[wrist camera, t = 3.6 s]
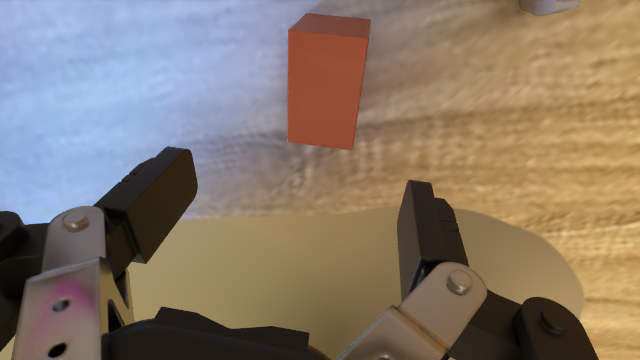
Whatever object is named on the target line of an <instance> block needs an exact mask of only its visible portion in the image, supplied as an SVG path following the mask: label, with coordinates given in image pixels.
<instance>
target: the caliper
mask: <svg viewBox="0 0 640 360" xmlns="http://www.w3.org/2000/svg"><path fill="white" fill-rule="evenodd" d="M578 6H579V0H520V7H521V9H523V10H524V11H527V12H529V13H532V14H534V15H537V16H542V15H548V14H554V13H559V12H563V11H566V10H569V9H572V8H576V7H578Z"/></svg>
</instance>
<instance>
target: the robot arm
mask: <svg viewBox="0 0 640 360" xmlns="http://www.w3.org/2000/svg"><path fill="white" fill-rule="evenodd" d="M197 188H198V184H197V178H196V173H195V167H194V162H193V157H192V153H191V151H190V150H189V149H183V148H176V147H166V148H165V149H164V150H163V151H161V152H160V153H159V154H158V155H157V156H156V157H155V158H151V159H149V160H147V161H145V162H143V163H141V164H139V165H138V166H136V167H135V168H134V169H133V170H132V171H131V172H130V173H129V175H127V176H125V177H124V178H123V179H122V181H121V182H119V183H118V184H117V185H115V186H114V187H113V188H112V189H111V190H110V191H109V192H108V193H107V194H106V195H104V196H103V197H102V198H101V199H100V200H99V201H98V202H97V203H96V204H94V205H93V206H81V207H76V208H72V209H69V210H67V211H65V212H63V213H61V214H59V215H58V216H56V217H55V218H54V219H53V220H52V221H51V222H50V223H41V224H29V225H24V223H23V221H22V220H21V218H20V217H19V215H18V214H16V213H14V212H10V211H0V352H1V350H2V349H3V348H4V347H5V346H6V345H7V343H9V341H10V340H11V339H12V338H13V337H14V336H15V334H16V336H15V341H14V347H13V352H12V358H11V360H331V359H330V358H328V357H327V356H326V355H325V354H324V353H322V352H321V351H319V350H318V349H316V348H314V347H312V346H310V345H308V343H309V333H307V332H302V331H296V330H291V329H285V328H279V327H273V326H268V327H256V328H240V329H230V328H227V327H225V326H223V325H220V324H219V323H216V322H214V321H212V320H210V319H208V318H206V317H204V316H202V315H200V314H198V313H195V312H189V311H183V310H178V309H173V308H167V307H161V308H160V310H159V311H158V313H157V315H156V316H155V318H152V319H146V320H141V321H138V322H135V321H134V315H133V306H132V297H131V288H130V278H129V272H128V269H127V267H128V266H129V264H130V263H131V262H138V263H144V264H147V262H148V261H149V260H150V258H151V257H152V255H153V254H154V252H155V251H156V250H157V249H158V247H159V246H160V244H161V243H162V242H163V240H164V239H165V237H166V236H167V235H168V234H169V232H170V231H171V230H172V228H173V227H174V226H175V224H176V223H177V221H178V220H179V219H180V217H181V216H182V215H183V213H184V212H185V211H186V209H187V208H188V206H189V205H190V204H191V202H192V201H193V200H194V198H195V196H196V193H197ZM397 223H398V224H397V235H398V250H399V266H400V281H401V299H402V303H401V304H400V305H399V306H397V307H395V306H394V305H392V306H390V307H388V308H387V309H386V310H385V311H384V312H383V313H382V314H381V315H380V316H379V317H378V318H377V319H376V320H375V321H374V322H373V323H372V324H371V325H370V326H369V327H368V328H367V329H366V330H365V331H364V332H363V333H362V334H361V335H360V336H359V337H358V338H357V339H356V340H355V341H354V342H353V343H352V345H350V346H349V347H348V348H347V350H346V351H345V352H344V353H343V354H342V355H341V356H340V357H339V358H338V359H337V360H448V359H449V358H450V357H451V358H454V359H456V360H599V359H598V357H597V355H596V353H595V350H594V348H593V346H592V344H591V342H590V340H589V338H588V336H587V334H586V331H585V329H584V327H583V326H582V324H581V323H580V321H579V320H578V319H577V318H576V317H575V315H574V314H572V313H571V312H570V311H569V310H567V309H566V308H565V307H564V306H562V305H560V304H559V303H557V302H555V301H552V300H550V299H546V298H542V297H532V298H529V299H527V300H525V301H524V303H523V304H522V305H521V304H518V303H516V302H514V301H511V300H509V299H506V298H504V297H501V296H499V295H497V294H495V293H493V292H491V291H489V290H488V289H487V288H486V285H485V283H484V281H483V280H482V278H481V277H480V276H479V275H478V274H477V273H476V272H475V271H474V270H472V269H471V268H470V267H469V264H468V260H467V257H466V253H465V250H464V246H463V243H462V239H461V235H460V233H459V228H458V225H457V223H456V218H455V214H454V210H453V209H452V208H451V206H450V205H449V204H448V203H447V202H446V200H445V199H441V198H434V193H433V189H432V185H431V183H429V182H422V181H414V180H409V181H408V183H407V186H406V189H405V193H404V196H403V200H402V204H401V207H400V211H399V215H398V222H397Z"/></svg>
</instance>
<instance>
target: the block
mask: <svg viewBox="0 0 640 360" xmlns="http://www.w3.org/2000/svg"><path fill="white" fill-rule="evenodd" d="M369 30H370V20H367V19H357V18H347V17H337V16H327V15H317V14H305V15H304V16H303V17H302V18H301V19H300V20H299V21H298V22H297V23H296V24H295V25H294V26H293V27H291V28H290V29H289V31H288V116H287V142H292V143H300V144H307V145H315V146H322V147H330V148H338V149H345V150H353V143H354V136H355V129H356V122H357V116H358V109H359V102H360V95H361V88H362V81H363V74H364V67H365V61H366V54H367V47H368V40H369Z"/></svg>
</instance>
